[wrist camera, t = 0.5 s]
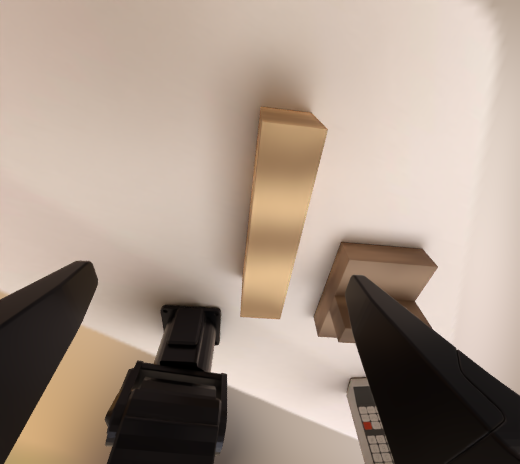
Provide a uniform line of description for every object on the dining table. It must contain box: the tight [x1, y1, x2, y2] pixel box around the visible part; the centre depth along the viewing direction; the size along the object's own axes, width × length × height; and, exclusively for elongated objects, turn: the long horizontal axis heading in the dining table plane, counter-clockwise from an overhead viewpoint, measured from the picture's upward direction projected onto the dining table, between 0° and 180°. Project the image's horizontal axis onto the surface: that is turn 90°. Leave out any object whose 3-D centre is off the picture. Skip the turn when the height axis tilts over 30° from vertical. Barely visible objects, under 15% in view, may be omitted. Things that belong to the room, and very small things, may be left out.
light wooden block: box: [240, 107, 328, 319], centre depth 20 cm, size 16×4×5 cm, turn 173°
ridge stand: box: [314, 242, 438, 343], centre depth 25 cm, size 11×8×6 cm
